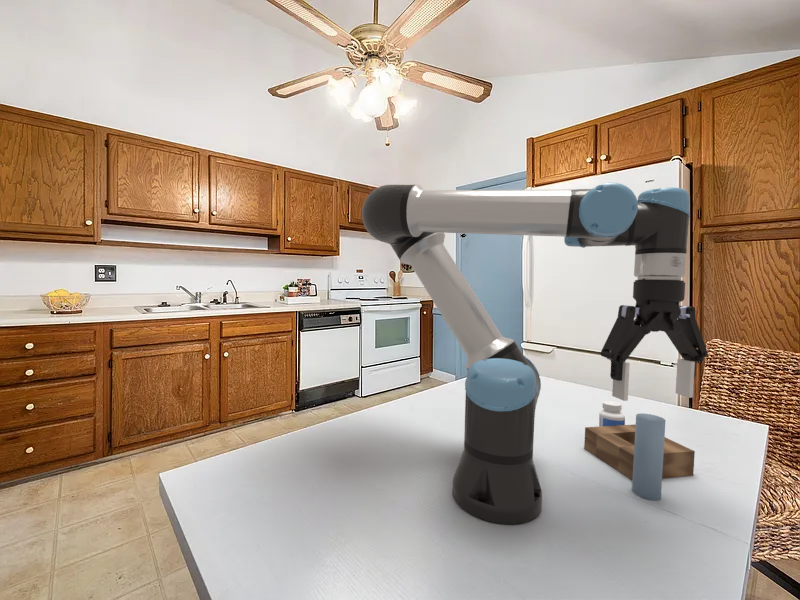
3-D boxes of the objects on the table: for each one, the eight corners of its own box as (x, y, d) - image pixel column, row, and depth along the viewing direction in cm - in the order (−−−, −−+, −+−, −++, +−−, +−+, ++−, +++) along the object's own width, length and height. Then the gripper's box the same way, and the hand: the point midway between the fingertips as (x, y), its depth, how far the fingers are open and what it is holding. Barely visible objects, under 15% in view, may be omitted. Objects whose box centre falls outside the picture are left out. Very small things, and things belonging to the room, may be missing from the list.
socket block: (633, 480, 71) (634, 455, 71) (584, 448, 85) (585, 427, 85) (693, 475, 74) (694, 451, 74) (636, 444, 88) (637, 424, 88)
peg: (646, 501, 65) (650, 423, 64) (626, 487, 69) (630, 414, 68) (667, 499, 66) (671, 421, 65) (646, 485, 70) (650, 413, 69)
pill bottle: (630, 447, 87) (630, 406, 87) (609, 448, 86) (609, 406, 86) (613, 438, 93) (614, 399, 93) (594, 439, 92) (594, 400, 92)
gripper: (613, 277, 59) (607, 406, 60) (738, 280, 64) (730, 400, 65) (582, 277, 67) (577, 393, 68) (696, 280, 72) (690, 388, 73)
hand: (652, 397), depth 66 cm, fingers open, 13 cm apart
